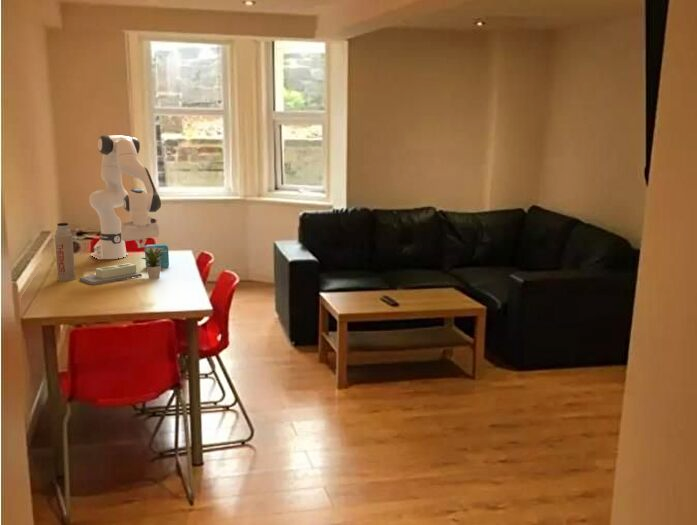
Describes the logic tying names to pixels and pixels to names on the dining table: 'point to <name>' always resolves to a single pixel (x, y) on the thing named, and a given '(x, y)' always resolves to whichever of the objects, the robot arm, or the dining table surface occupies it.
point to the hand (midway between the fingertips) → (141, 247)
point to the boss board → (97, 280)
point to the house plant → (153, 263)
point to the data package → (166, 256)
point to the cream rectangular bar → (115, 270)
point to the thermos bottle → (64, 253)
